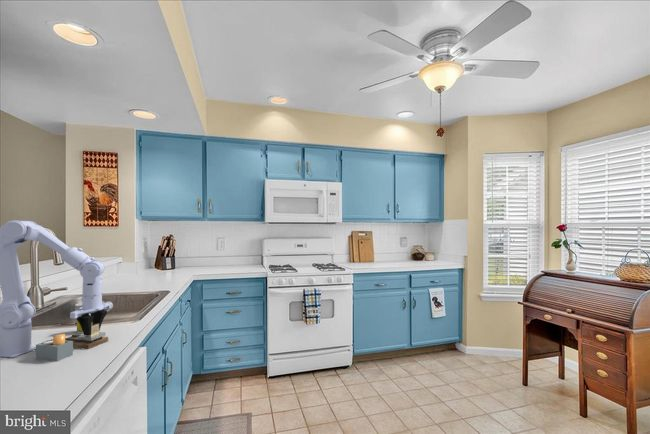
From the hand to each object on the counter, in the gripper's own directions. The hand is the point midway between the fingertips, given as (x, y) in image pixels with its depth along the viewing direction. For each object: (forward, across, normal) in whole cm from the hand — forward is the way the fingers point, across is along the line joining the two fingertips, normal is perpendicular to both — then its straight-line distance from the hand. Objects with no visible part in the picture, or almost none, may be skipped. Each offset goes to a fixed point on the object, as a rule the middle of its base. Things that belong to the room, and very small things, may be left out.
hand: (91, 333), depth 115 cm
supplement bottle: (+4, +11, +15) cm, 19 cm away
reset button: (+2, -12, 0) cm, 12 cm away
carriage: (+1, 0, 0) cm, 1 cm away
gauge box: (+4, -12, +2) cm, 12 cm away
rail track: (+4, 0, +4) cm, 6 cm away
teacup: (+4, +25, +26) cm, 36 cm away
